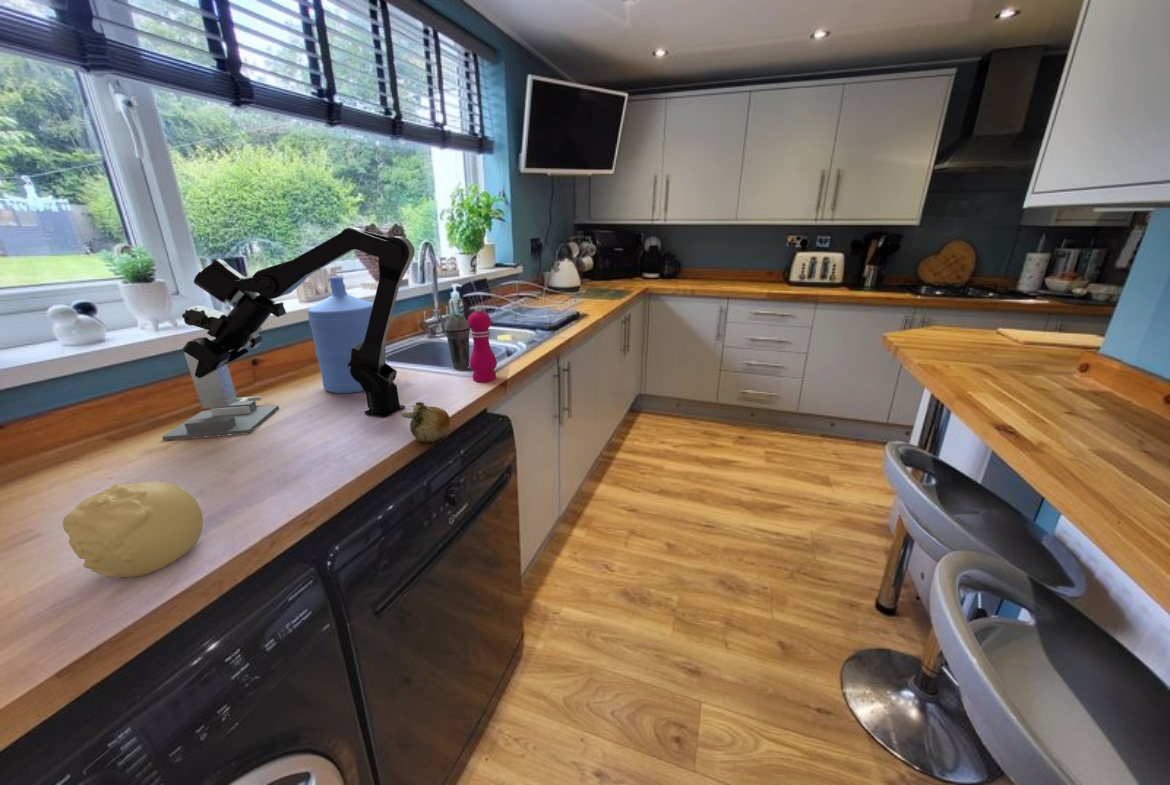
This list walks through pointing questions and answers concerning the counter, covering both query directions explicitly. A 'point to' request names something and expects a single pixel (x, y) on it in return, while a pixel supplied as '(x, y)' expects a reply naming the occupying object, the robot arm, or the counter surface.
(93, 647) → the counter surface
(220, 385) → the steel block
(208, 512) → the counter surface
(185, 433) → the stepped grey baseplate
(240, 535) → the counter surface
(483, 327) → the pepper mill
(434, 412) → the onion
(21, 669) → the counter surface
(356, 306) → the water jug
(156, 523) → the sculpture
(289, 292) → the robot arm
